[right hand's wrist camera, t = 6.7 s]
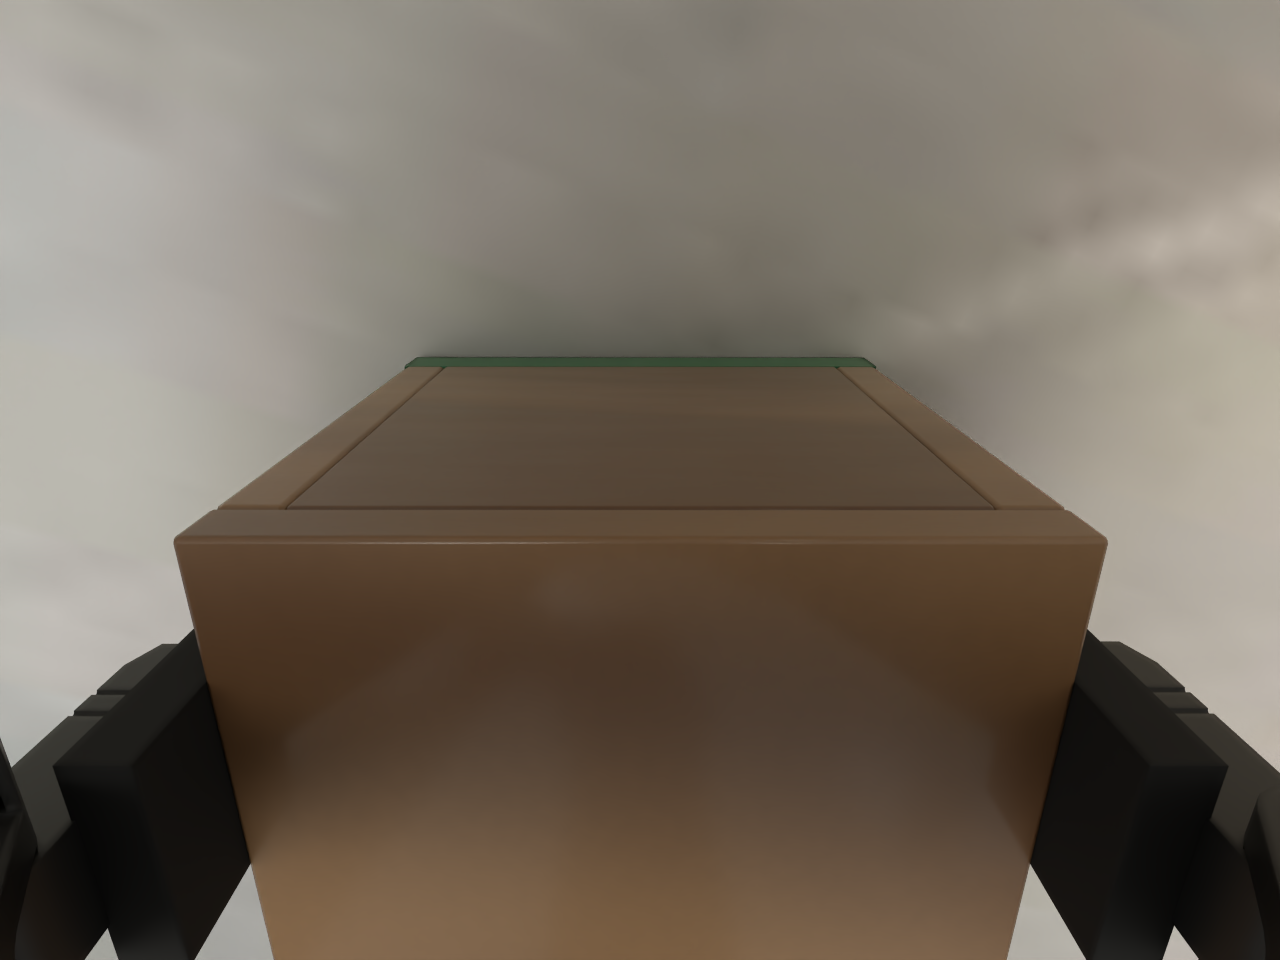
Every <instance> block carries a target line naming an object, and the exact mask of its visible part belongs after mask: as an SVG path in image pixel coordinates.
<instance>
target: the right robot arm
mask: <svg viewBox="0 0 1280 960" xmlns="http://www.w3.org/2000/svg"><path fill="white" fill-rule="evenodd" d="M250 864H251V862H250V858H249V854H248V850H247V846H246V842H245V837H244V833H243V829H242V825H241V821H240V817H239V813H238V808H237V804H236V800H235V796H234V792H233V788H232V784H231V779H230V775H229V771H228V767H227V763H226V759H225V755H224V750H223V746H222V742H221V738H220V734H219V730H218V726H217V721H216V717H215V713H214V709H213V705H212V701H211V697H210V692H209V688H208V684H207V680H206V676H205V672H204V668H203V663H202V659H201V655H200V651H199V647H198V643H197V639H196V635H195V630H194V629H193V630H192V631H191V632H190V633H189V634H188V635H187V636H186V637H185V638H184V639H183V640H182V641H181V642H180V643H179V644H161V645H160V646H158V647H156V648H154V649H152V650H151V651H149V652H147V653H145V654H143V655H142V656H140V657H138V658H136V659H135V660H133V661H131V662H129V663H127V664H126V665H124V666H123V667H122V668H121V669H120V670H119V671H117V672H116V673H115V674H114V675H113V676H112V677H111V678H110V679H109V680H108V681H106V682H105V683H104V684H103V685H102V686H101V687H100V688H99V689H98V690H97V694H96V695H91V696H90V697H89V698H88V699H87V700H85V701H84V702H83V703H82V704H81V705H80V706H79V707H78V708H77V709H76V710H74V715H73V716H68V717H67V718H66V719H65V720H63V721H62V722H61V723H60V724H59V725H58V726H57V727H56V728H55V729H54V730H52V731H51V732H50V733H49V734H48V735H47V736H46V737H45V738H44V739H43V740H41V741H40V742H39V743H38V744H37V745H36V746H35V747H34V748H33V749H32V750H30V751H29V752H28V753H27V754H26V755H25V756H24V757H23V758H22V759H20V760H19V761H18V762H17V763H16V764H15V765H14V766H13V767H12V768H11V766H10V763H9V760H8V758H7V755H6V752H5V750H4V747H3V744H2V741H1V739H0V960H85V958H86V957H87V956H88V954H89V953H90V951H91V950H92V949H93V947H94V946H95V945H96V943H97V942H98V940H99V939H100V938H101V936H102V935H103V934H104V932H105V931H106V929H107V928H108V930H109V933H110V936H111V939H112V942H113V945H114V948H115V951H116V954H117V956H118V959H119V960H195V958H196V956H197V954H198V953H199V951H200V949H201V948H202V946H203V944H204V942H205V941H206V939H207V937H208V936H209V934H210V932H211V930H212V929H213V927H214V925H215V924H216V922H217V920H218V918H219V917H220V915H221V913H222V912H223V910H224V908H225V907H226V905H227V903H228V901H229V900H230V898H231V896H232V895H233V893H234V891H235V889H236V888H237V886H238V884H239V883H240V881H241V879H242V877H243V876H244V874H245V872H246V871H247V869H248V867H249V865H250ZM1030 864H1031V866H1032V868H1033V869H1034V871H1035V873H1036V874H1037V876H1038V878H1039V879H1040V881H1041V883H1042V885H1043V886H1044V888H1045V890H1046V891H1047V893H1048V895H1049V897H1050V898H1051V900H1052V902H1053V903H1054V905H1055V907H1056V909H1057V910H1058V912H1059V914H1060V915H1061V917H1062V919H1063V921H1064V922H1065V924H1066V926H1067V927H1068V929H1069V931H1070V933H1071V934H1072V936H1073V938H1074V939H1075V941H1076V943H1077V945H1078V946H1079V948H1080V950H1081V951H1082V953H1083V955H1084V957H1085V958H1086V960H1162V959H1163V956H1164V954H1165V951H1166V948H1167V945H1168V942H1169V939H1170V936H1171V933H1172V930H1173V927H1174V926H1175V927H1176V928H1177V930H1178V931H1179V932H1180V934H1181V935H1182V937H1183V938H1184V939H1185V941H1186V942H1187V943H1188V945H1189V946H1190V947H1191V949H1192V950H1193V952H1194V953H1195V954H1196V956H1197V957H1198V958H1199V959H1198V960H1280V773H1279V772H1278V771H1277V770H1276V769H1275V768H1274V767H1272V766H1271V765H1270V764H1269V763H1268V762H1267V761H1266V760H1265V759H1264V758H1262V757H1261V756H1260V755H1259V754H1258V753H1257V752H1256V751H1255V750H1254V749H1253V748H1251V747H1250V746H1249V745H1248V744H1247V743H1246V742H1245V741H1244V740H1243V739H1241V738H1240V737H1239V736H1238V735H1237V734H1236V733H1235V732H1234V731H1233V730H1231V729H1230V728H1229V727H1228V726H1227V725H1226V724H1225V723H1224V722H1223V721H1221V720H1220V719H1219V718H1218V717H1217V716H1216V715H1215V714H1209V713H1208V708H1207V707H1206V706H1205V705H1204V704H1203V703H1201V702H1200V701H1199V700H1198V699H1197V698H1196V697H1195V696H1194V695H1193V694H1191V693H1190V692H1185V687H1184V686H1183V685H1181V684H1180V683H1179V682H1178V681H1177V680H1176V679H1175V678H1174V677H1173V676H1171V675H1170V674H1169V673H1168V672H1167V671H1166V670H1165V669H1164V668H1163V667H1161V666H1160V665H1159V664H1158V663H1157V662H1155V661H1153V660H1152V659H1150V658H1148V657H1146V656H1144V655H1143V654H1141V653H1139V652H1137V651H1135V650H1134V649H1132V648H1130V647H1128V646H1126V645H1125V644H1123V643H1121V642H1100V641H1099V640H1098V639H1097V638H1096V637H1095V636H1094V635H1093V634H1092V633H1091V632H1090V631H1089V630H1088V629H1087V631H1086V636H1085V640H1084V644H1083V648H1082V652H1081V656H1080V660H1079V664H1078V668H1077V673H1076V677H1075V681H1074V685H1073V689H1072V693H1071V697H1070V701H1069V705H1068V709H1067V714H1066V718H1065V722H1064V726H1063V730H1062V734H1061V738H1060V742H1059V746H1058V751H1057V755H1056V759H1055V763H1054V767H1053V771H1052V775H1051V779H1050V783H1049V788H1048V792H1047V796H1046V800H1045V804H1044V808H1043V812H1042V816H1041V820H1040V824H1039V829H1038V833H1037V837H1036V841H1035V845H1034V849H1033V853H1032V857H1031V861H1030Z"/></svg>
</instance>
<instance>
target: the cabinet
mask: <svg viewBox="0 0 1280 960" xmlns="http://www.w3.org/2000/svg"><path fill="white" fill-rule="evenodd" d="M1107 545H1108V542H1107V539H1106V537H1105V536H1103V535H1102V534H1101V533H1099V532H1098V531H1096V530H1095V529H1094V528H1092V527H1091V526H1090V525H1088V524H1087V523H1086V522H1084V521H1083V520H1081V519H1080V518H1079V517H1077V516H1076V515H1075V514H1073V513H1072V512H1070V511H1068V510H1064V507H1063V506H1061V505H1060V504H1059V503H1057V502H1056V501H1055V500H1053V499H1052V498H1051V497H1049V496H1048V495H1047V494H1045V493H1044V492H1042V491H1041V490H1040V489H1038V488H1037V487H1036V486H1034V485H1033V484H1032V483H1030V482H1029V481H1027V480H1026V479H1025V478H1023V477H1022V476H1021V475H1019V474H1018V473H1017V472H1015V471H1014V470H1012V469H1011V468H1010V467H1008V466H1007V465H1006V464H1004V463H1003V462H1002V461H1000V460H999V459H998V458H996V457H995V456H993V455H992V454H991V453H989V452H988V451H987V450H985V449H984V448H983V447H981V446H980V445H978V444H977V443H976V442H974V441H973V440H972V439H970V438H969V437H968V436H966V435H965V434H963V433H962V432H961V431H959V430H958V429H957V428H955V427H954V426H953V425H951V424H950V423H949V422H947V421H946V420H944V419H943V418H942V417H940V416H939V415H938V414H936V413H935V412H934V411H932V410H931V409H929V408H928V407H927V406H925V405H924V404H923V403H921V402H920V401H919V400H917V399H916V398H914V397H913V396H912V395H910V394H909V393H908V392H906V391H905V390H904V389H902V388H901V387H899V386H898V385H897V384H895V383H894V382H893V381H891V380H890V379H889V378H887V377H886V376H885V375H883V374H882V373H880V372H879V371H878V370H876V366H875V365H873V364H872V363H870V362H869V361H868V360H866V359H865V358H510V357H417V358H415V359H414V360H413V361H411V362H410V363H409V364H407V365H406V366H405V369H404V370H403V371H402V372H400V373H399V374H398V375H396V376H395V377H394V378H392V379H391V380H390V381H388V382H387V383H385V384H384V385H383V386H381V387H380V388H379V389H377V390H376V391H375V392H373V393H372V394H370V395H369V396H368V397H366V398H365V399H364V400H362V401H361V402H360V403H358V404H357V405H356V406H354V407H353V408H351V409H350V410H349V411H347V412H346V413H345V414H343V415H342V416H341V417H339V418H338V419H337V420H335V421H334V422H332V423H331V424H330V425H328V426H327V427H326V428H324V429H323V430H322V431H320V432H319V433H318V434H316V435H315V436H313V437H312V438H311V439H309V440H308V441H307V442H305V443H304V444H303V445H301V446H300V447H299V448H297V449H296V450H294V451H293V452H292V453H290V454H289V455H288V456H286V457H285V458H284V459H282V460H281V461H280V462H278V463H277V464H275V465H274V466H273V467H271V468H270V469H269V470H267V471H266V472H265V473H263V474H262V475H260V476H259V477H258V478H256V479H255V480H254V481H252V482H251V483H250V484H248V485H247V486H246V487H244V488H243V489H241V490H240V491H239V492H237V493H236V494H235V495H233V496H232V497H231V498H229V499H228V500H227V501H225V502H224V503H222V504H221V505H220V506H219V507H218V509H217V510H212V511H210V512H209V513H207V514H206V515H205V516H203V517H202V518H200V519H199V520H198V521H196V522H195V523H194V524H192V525H191V526H190V527H188V528H187V529H185V530H184V531H183V532H181V533H180V534H179V535H177V536H176V537H175V539H174V548H175V552H176V556H177V560H178V564H179V568H180V572H181V577H182V581H183V585H184V589H185V593H186V597H187V601H188V606H189V610H190V614H191V618H192V622H193V626H194V630H195V635H196V639H197V643H198V647H199V651H200V655H201V659H202V663H203V668H204V672H205V676H206V680H207V684H208V688H209V692H210V697H211V701H212V705H213V709H214V713H215V717H216V721H217V726H218V730H219V734H220V738H221V742H222V746H223V750H224V755H225V759H226V763H227V767H228V771H229V775H230V779H231V784H232V788H233V792H234V796H235V800H236V804H237V808H238V813H239V817H240V821H241V825H242V829H243V833H244V837H245V842H246V846H247V850H248V854H249V858H250V862H251V866H252V871H253V875H254V879H255V883H256V887H257V891H258V895H259V900H260V904H261V908H262V912H263V916H264V920H265V924H266V928H267V933H268V937H269V941H270V945H271V949H272V953H273V957H274V960H1007V956H1008V952H1009V948H1010V944H1011V939H1012V935H1013V931H1014V927H1015V923H1016V919H1017V915H1018V911H1019V907H1020V903H1021V898H1022V894H1023V890H1024V886H1025V882H1026V878H1027V874H1028V870H1029V866H1030V861H1031V857H1032V853H1033V849H1034V845H1035V841H1036V837H1037V833H1038V829H1039V824H1040V820H1041V816H1042V812H1043V808H1044V804H1045V800H1046V796H1047V792H1048V788H1049V783H1050V779H1051V775H1052V771H1053V767H1054V763H1055V759H1056V755H1057V751H1058V746H1059V742H1060V738H1061V734H1062V730H1063V726H1064V722H1065V718H1066V714H1067V709H1068V705H1069V701H1070V697H1071V693H1072V689H1073V685H1074V681H1075V677H1076V673H1077V668H1078V664H1079V660H1080V656H1081V652H1082V648H1083V644H1084V640H1085V636H1086V631H1087V627H1088V623H1089V619H1090V615H1091V611H1092V607H1093V603H1094V599H1095V594H1096V590H1097V586H1098V582H1099V578H1100V574H1101V570H1102V566H1103V562H1104V558H1105V553H1106V549H1107Z"/></svg>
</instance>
